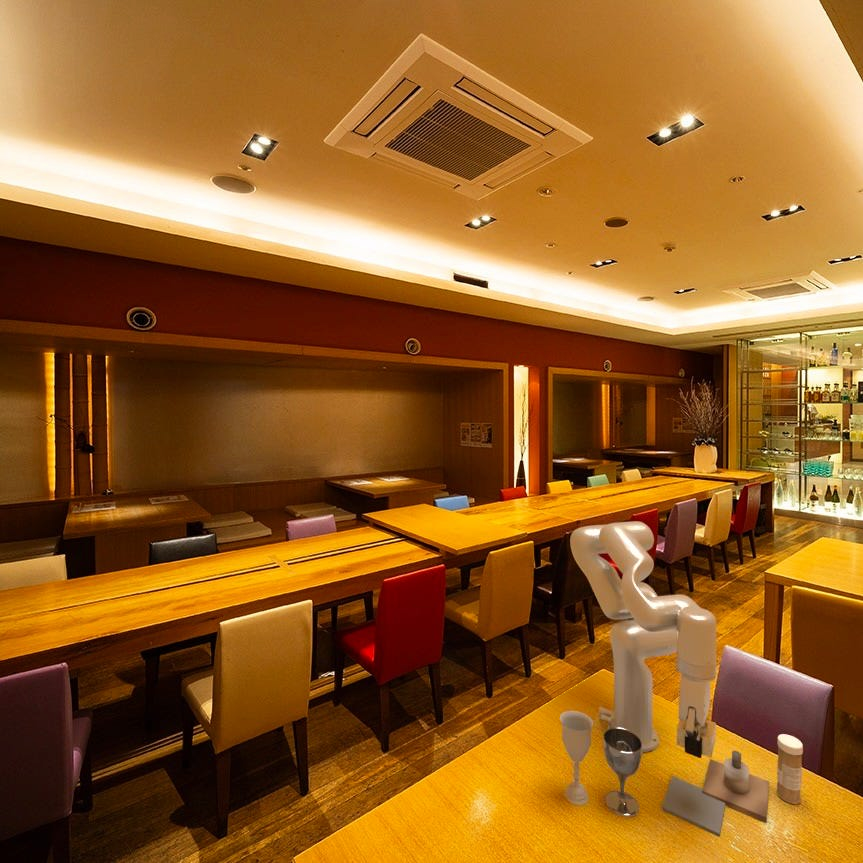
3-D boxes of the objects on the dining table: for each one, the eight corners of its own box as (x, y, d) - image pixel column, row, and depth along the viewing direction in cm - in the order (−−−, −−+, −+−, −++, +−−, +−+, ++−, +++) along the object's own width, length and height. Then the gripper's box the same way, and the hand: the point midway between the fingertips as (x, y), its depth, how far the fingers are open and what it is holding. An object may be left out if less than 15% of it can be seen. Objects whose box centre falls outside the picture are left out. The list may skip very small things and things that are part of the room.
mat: (662, 809, 105) (662, 807, 105) (672, 778, 113) (672, 775, 113) (719, 836, 98) (719, 833, 98) (726, 800, 107) (726, 798, 107)
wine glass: (595, 796, 109) (595, 733, 108) (622, 784, 112) (622, 723, 111) (622, 824, 101) (622, 757, 101) (649, 811, 105) (650, 745, 104)
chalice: (558, 803, 107) (558, 726, 106) (561, 780, 113) (561, 708, 112) (593, 812, 104) (592, 733, 103) (593, 788, 111) (593, 714, 110)
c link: (676, 744, 104) (676, 727, 104) (682, 728, 109) (682, 711, 109) (711, 757, 100) (711, 739, 100) (715, 740, 105) (715, 722, 105)
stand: (702, 795, 108) (702, 757, 108) (709, 763, 118) (710, 728, 117) (766, 822, 101) (767, 782, 100) (769, 786, 110) (769, 749, 110)
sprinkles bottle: (777, 785, 111) (779, 730, 110) (802, 796, 108) (804, 739, 107) (774, 797, 107) (776, 740, 107) (800, 809, 104) (801, 750, 103)
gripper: (684, 645, 113) (684, 718, 114) (668, 678, 99) (669, 761, 100) (721, 654, 108) (720, 730, 109) (710, 690, 95) (709, 777, 96)
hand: (696, 744), depth 105 cm, fingers closed on c link, 6 cm apart
